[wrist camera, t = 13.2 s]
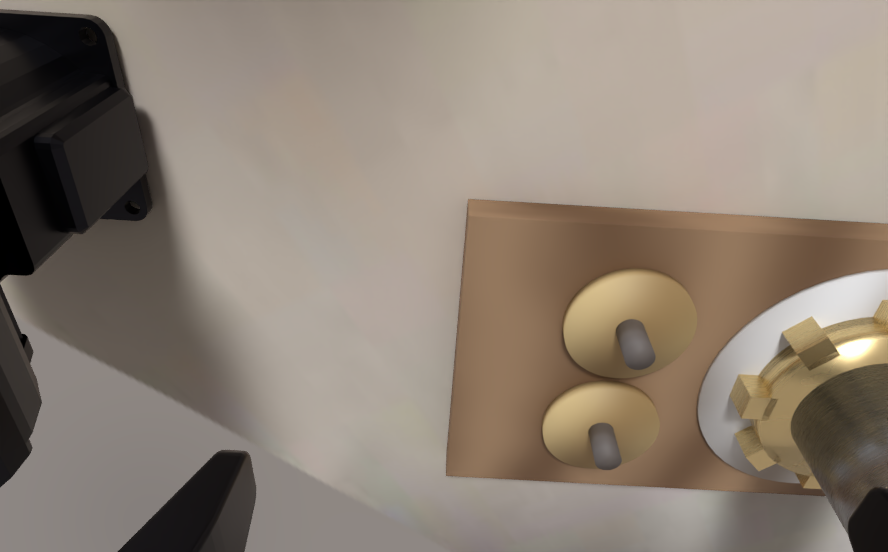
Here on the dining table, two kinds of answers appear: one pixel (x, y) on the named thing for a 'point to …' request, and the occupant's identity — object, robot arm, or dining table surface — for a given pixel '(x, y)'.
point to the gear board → (637, 337)
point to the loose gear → (823, 409)
